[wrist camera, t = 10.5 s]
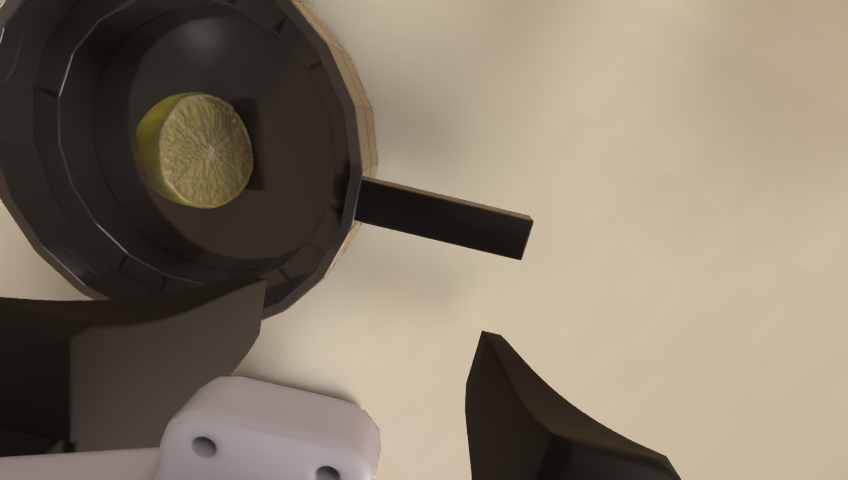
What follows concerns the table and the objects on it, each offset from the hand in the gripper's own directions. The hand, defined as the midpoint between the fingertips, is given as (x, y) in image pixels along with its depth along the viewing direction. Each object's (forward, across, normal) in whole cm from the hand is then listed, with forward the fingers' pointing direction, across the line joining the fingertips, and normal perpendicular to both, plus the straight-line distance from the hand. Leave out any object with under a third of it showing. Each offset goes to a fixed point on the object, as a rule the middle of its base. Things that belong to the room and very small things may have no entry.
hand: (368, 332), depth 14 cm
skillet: (+9, +10, -3) cm, 14 cm away
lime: (+9, +10, -3) cm, 14 cm away
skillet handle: (+6, -1, -3) cm, 7 cm away
